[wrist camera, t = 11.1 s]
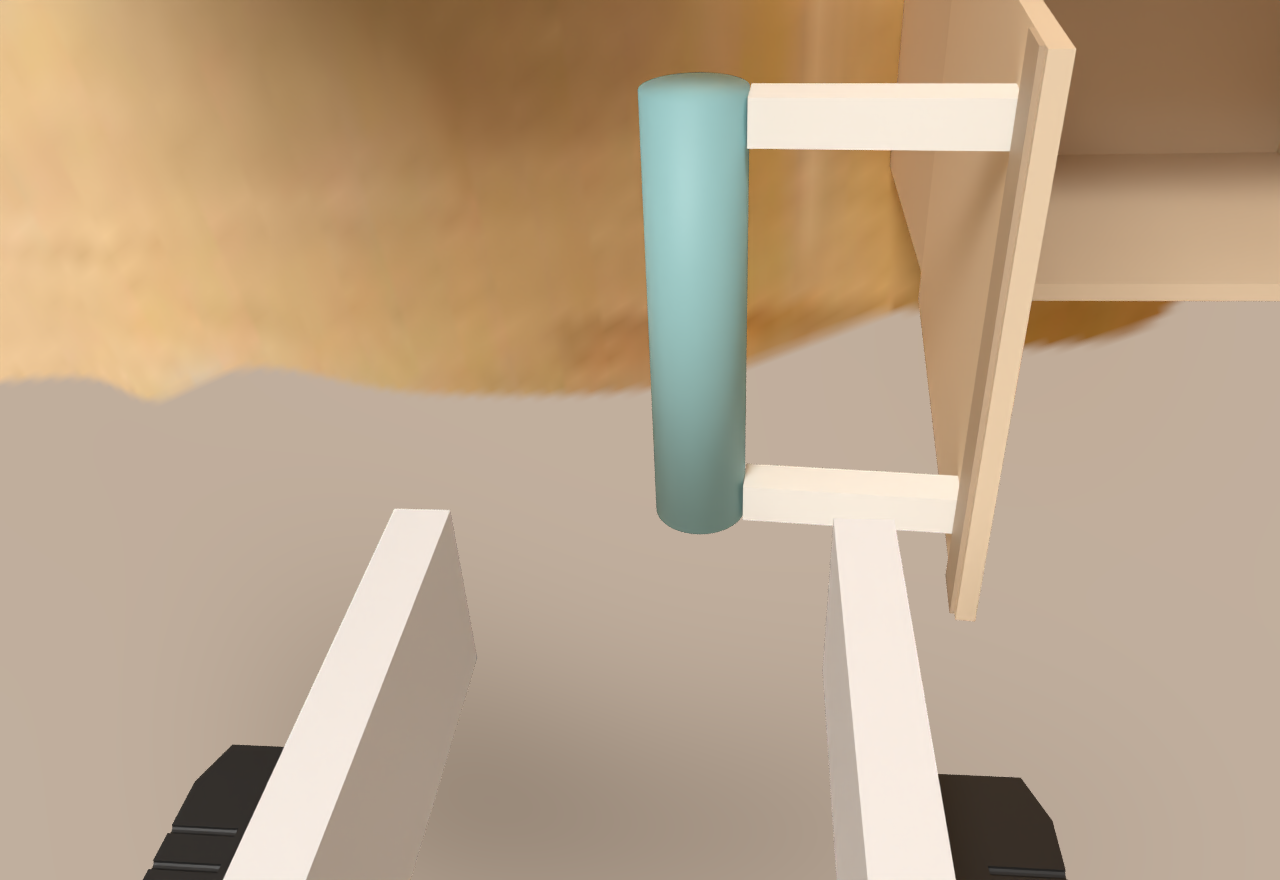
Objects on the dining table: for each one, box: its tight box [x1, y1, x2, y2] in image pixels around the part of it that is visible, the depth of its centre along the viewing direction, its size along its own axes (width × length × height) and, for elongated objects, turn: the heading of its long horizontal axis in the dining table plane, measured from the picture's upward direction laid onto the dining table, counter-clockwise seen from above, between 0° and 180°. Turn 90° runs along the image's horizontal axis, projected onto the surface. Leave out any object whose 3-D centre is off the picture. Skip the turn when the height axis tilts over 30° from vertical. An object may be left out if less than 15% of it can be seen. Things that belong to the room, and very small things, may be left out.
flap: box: [638, 0, 1076, 621], centre depth 26 cm, size 15×12×7 cm
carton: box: [890, 0, 1280, 301], centre depth 36 cm, size 16×12×13 cm
